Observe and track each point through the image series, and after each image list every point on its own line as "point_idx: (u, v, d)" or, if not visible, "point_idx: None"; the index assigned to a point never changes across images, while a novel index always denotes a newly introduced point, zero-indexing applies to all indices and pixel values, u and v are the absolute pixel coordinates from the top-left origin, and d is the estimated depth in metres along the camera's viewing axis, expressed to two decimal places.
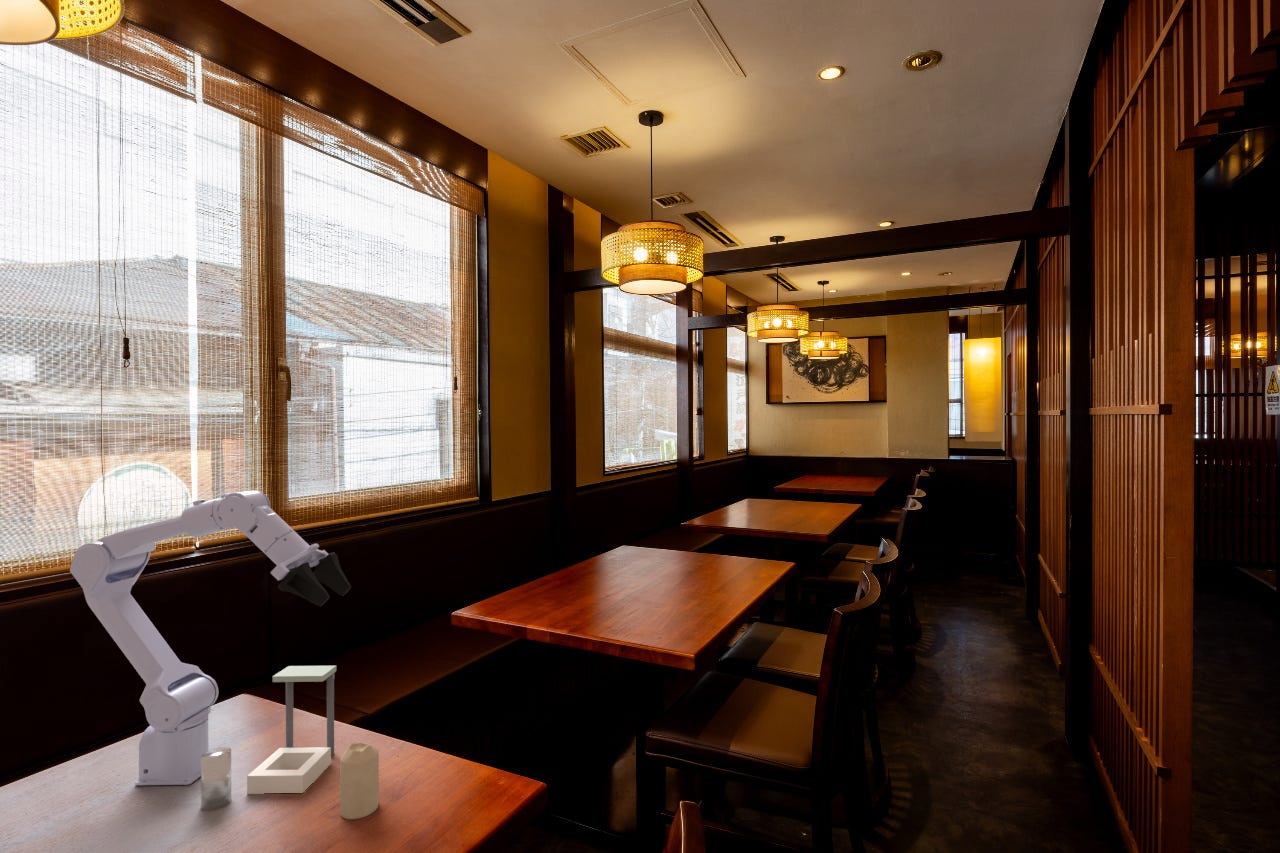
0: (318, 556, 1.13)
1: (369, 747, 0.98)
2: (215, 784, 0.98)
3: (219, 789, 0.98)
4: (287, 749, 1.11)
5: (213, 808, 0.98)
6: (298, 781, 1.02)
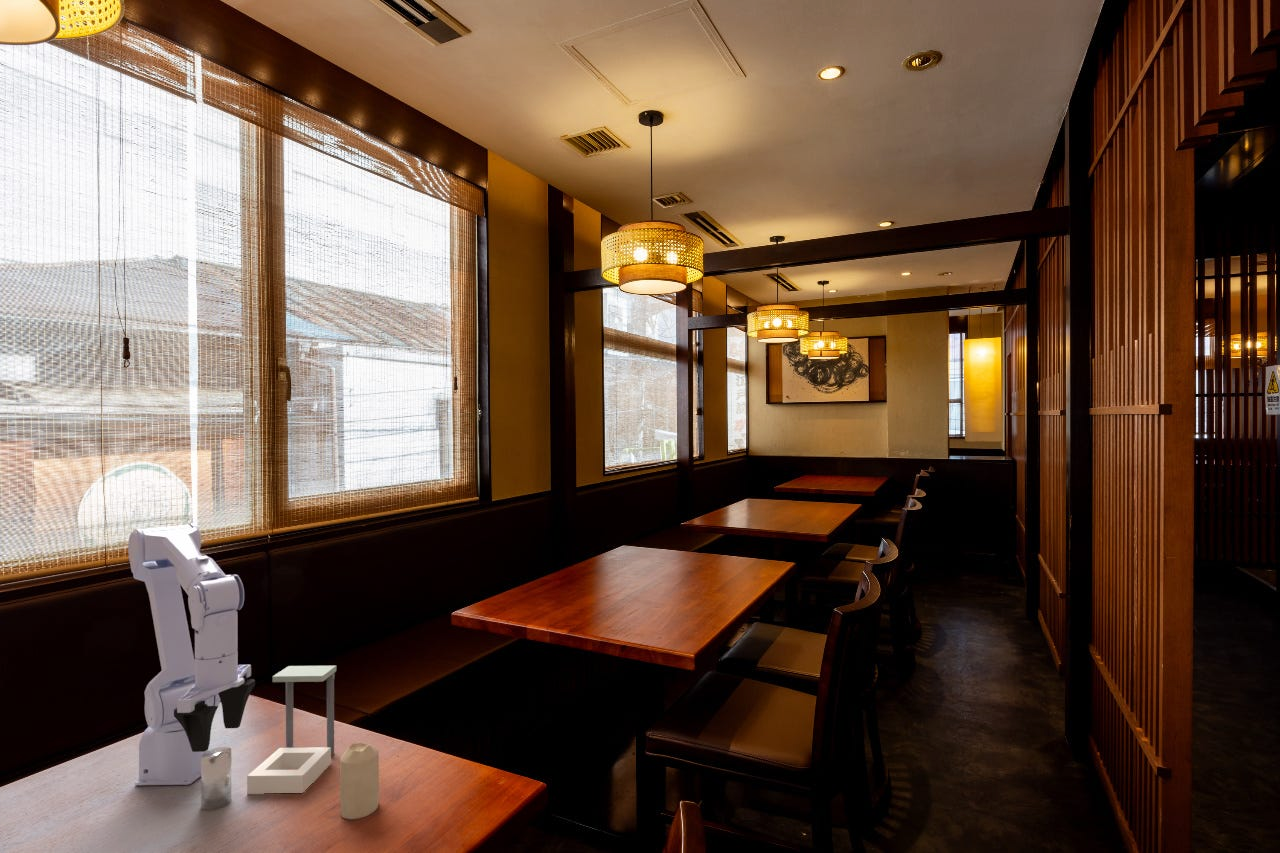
0: (239, 675, 1.04)
1: (369, 747, 0.98)
2: (215, 784, 0.98)
3: (219, 789, 0.98)
4: (287, 749, 1.11)
5: (213, 808, 0.98)
6: (298, 781, 1.02)
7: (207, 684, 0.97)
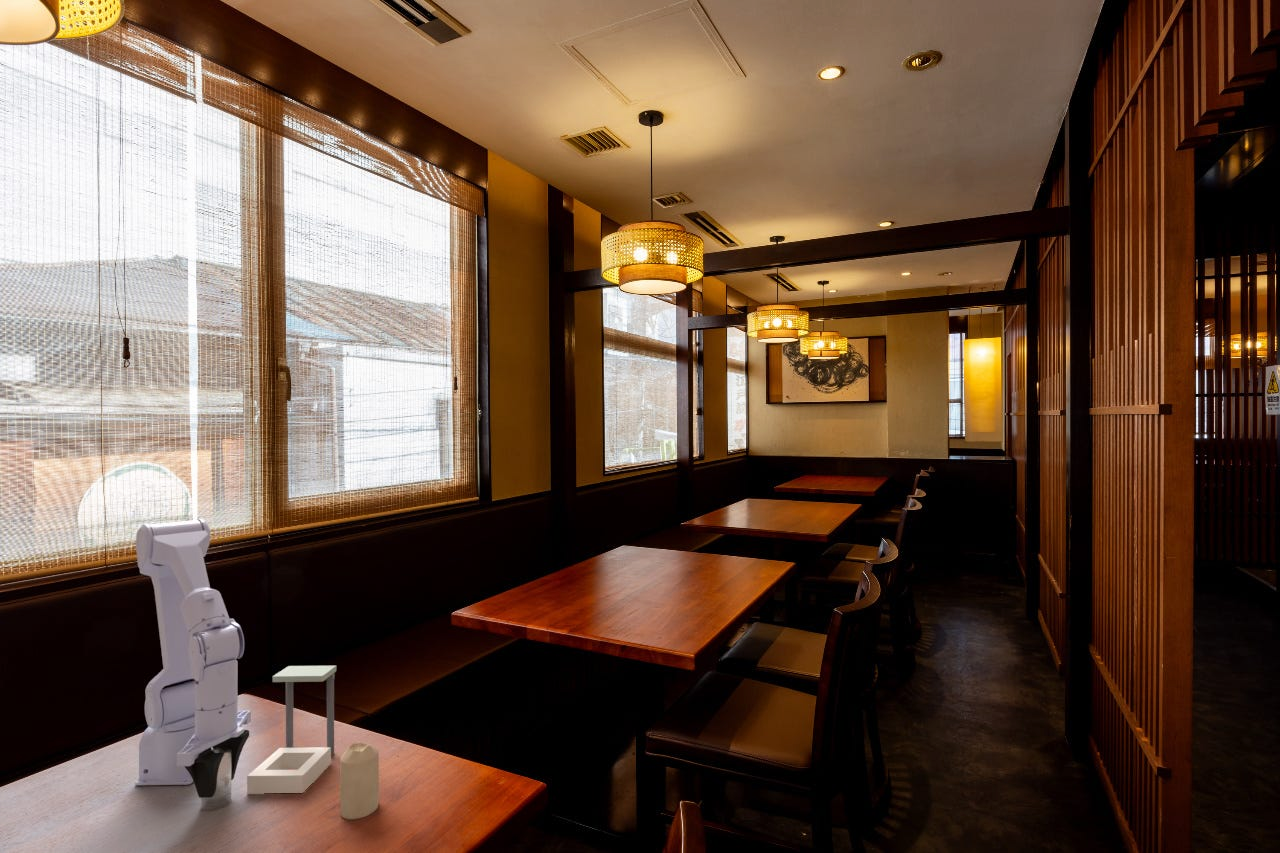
0: (238, 722, 1.04)
1: (369, 747, 0.98)
2: None
3: (219, 789, 0.98)
4: (287, 749, 1.11)
5: (213, 808, 0.98)
6: (298, 781, 1.02)
7: (207, 735, 0.97)
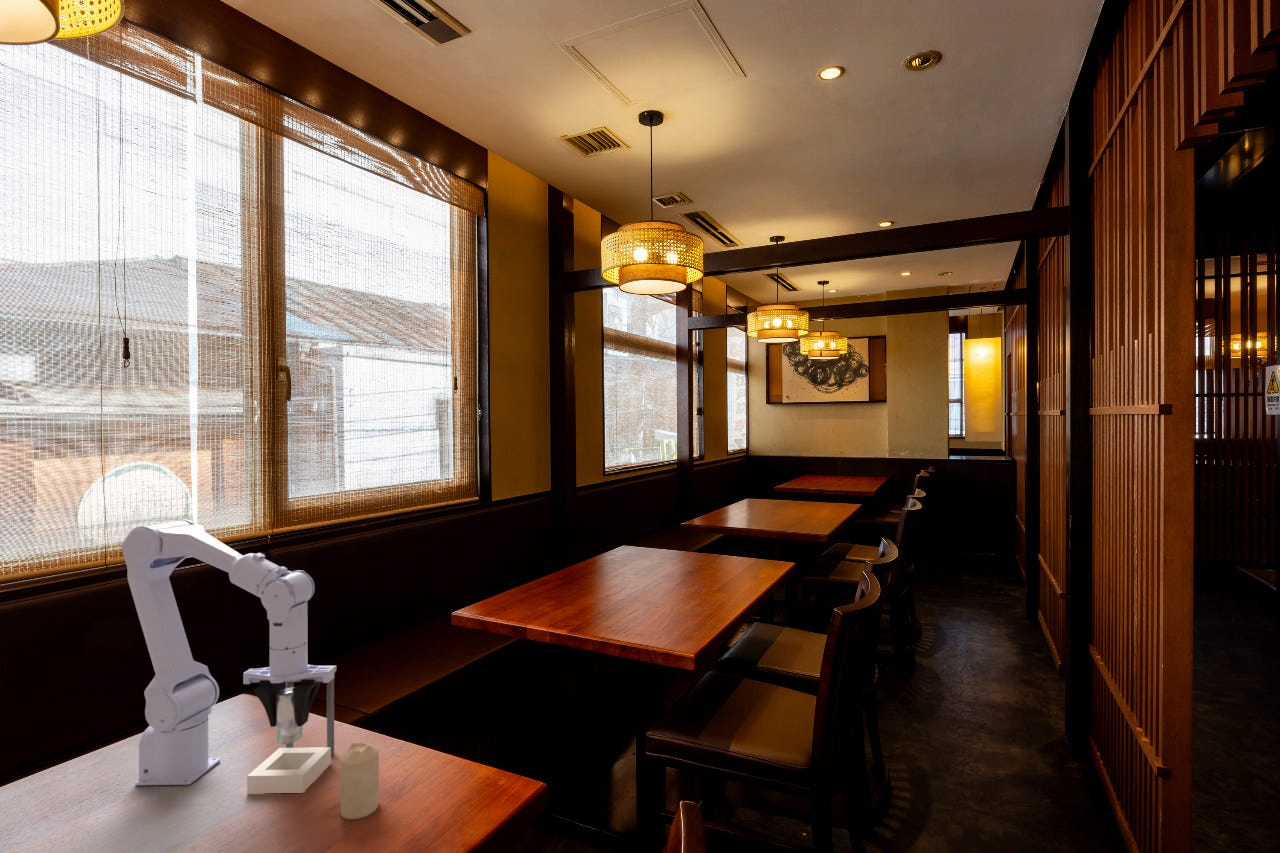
0: None
1: (369, 747, 0.98)
2: None
3: (276, 725, 1.05)
4: (287, 749, 1.11)
5: (276, 739, 1.06)
6: (298, 781, 1.02)
7: None
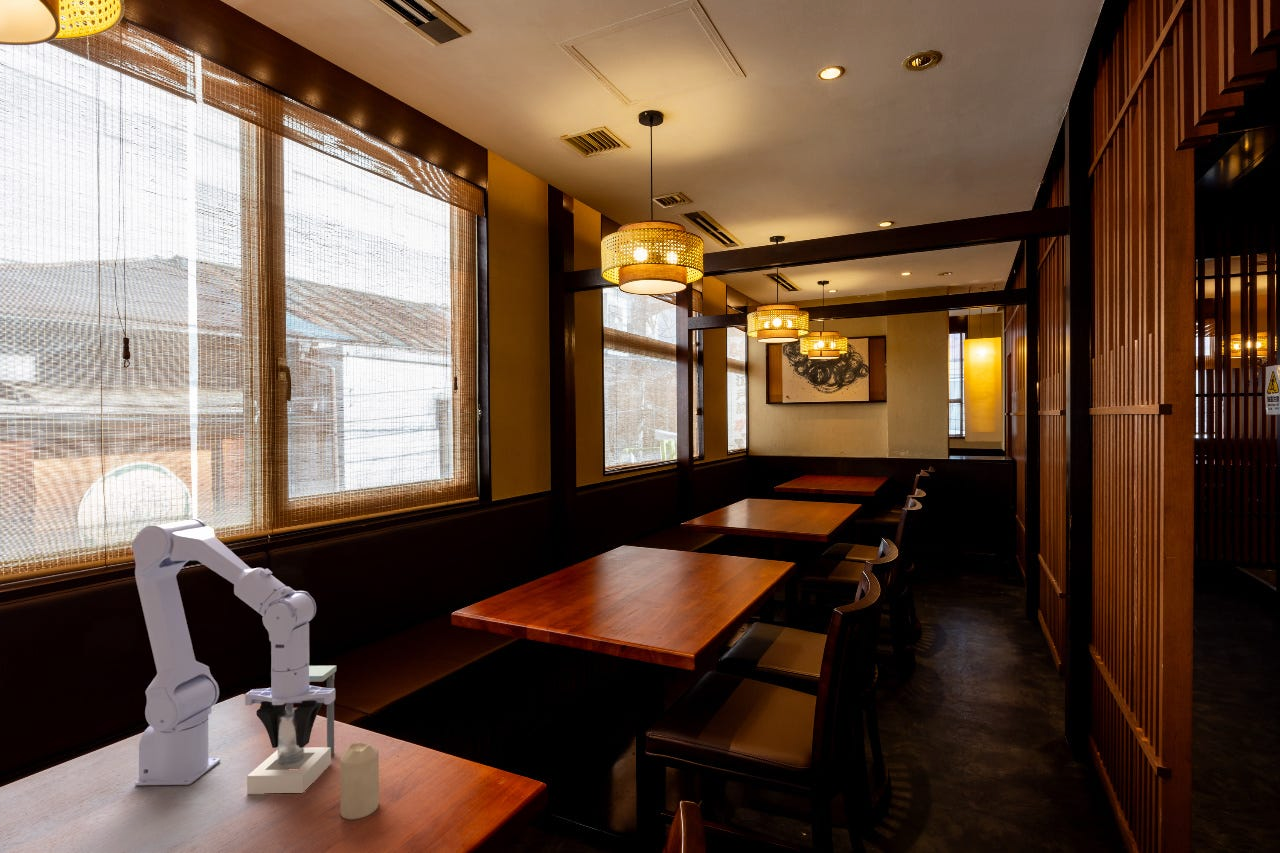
0: None
1: (369, 747, 0.98)
2: None
3: (278, 746, 1.05)
4: None
5: None
6: (298, 781, 1.02)
7: None
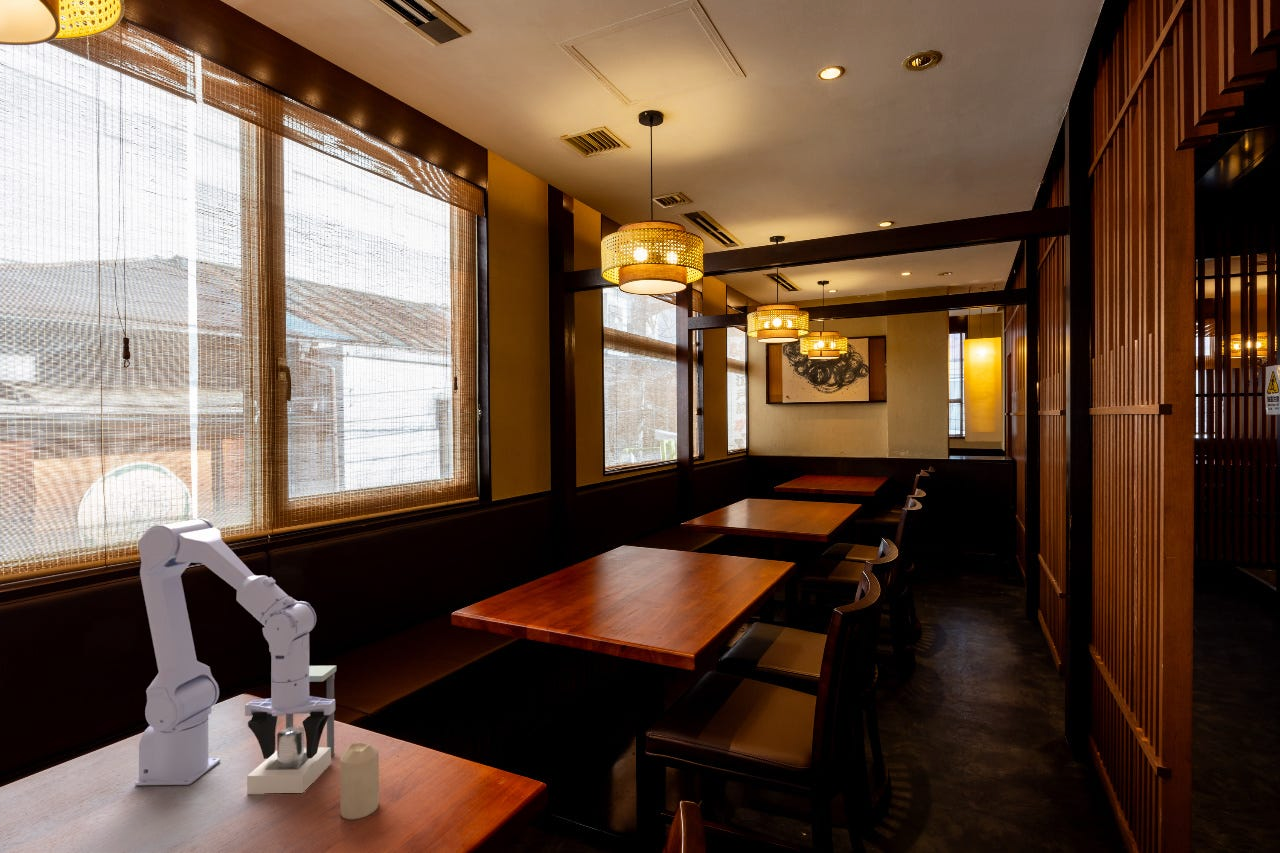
0: None
1: (369, 747, 0.98)
2: (277, 758, 1.06)
3: (278, 765, 1.05)
4: None
5: None
6: (298, 781, 1.02)
7: None
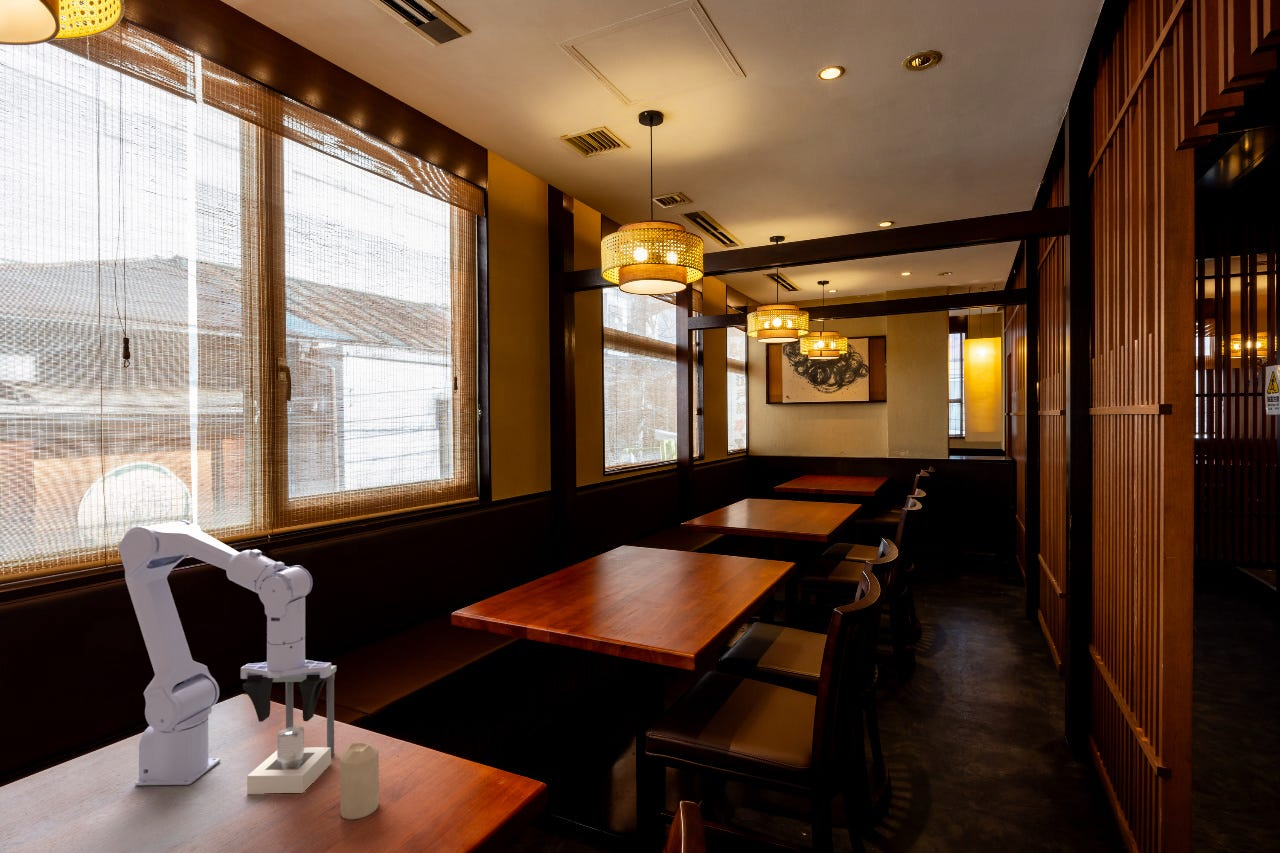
0: None
1: (369, 747, 0.98)
2: (277, 758, 1.06)
3: (278, 765, 1.05)
4: None
5: None
6: (298, 781, 1.02)
7: None
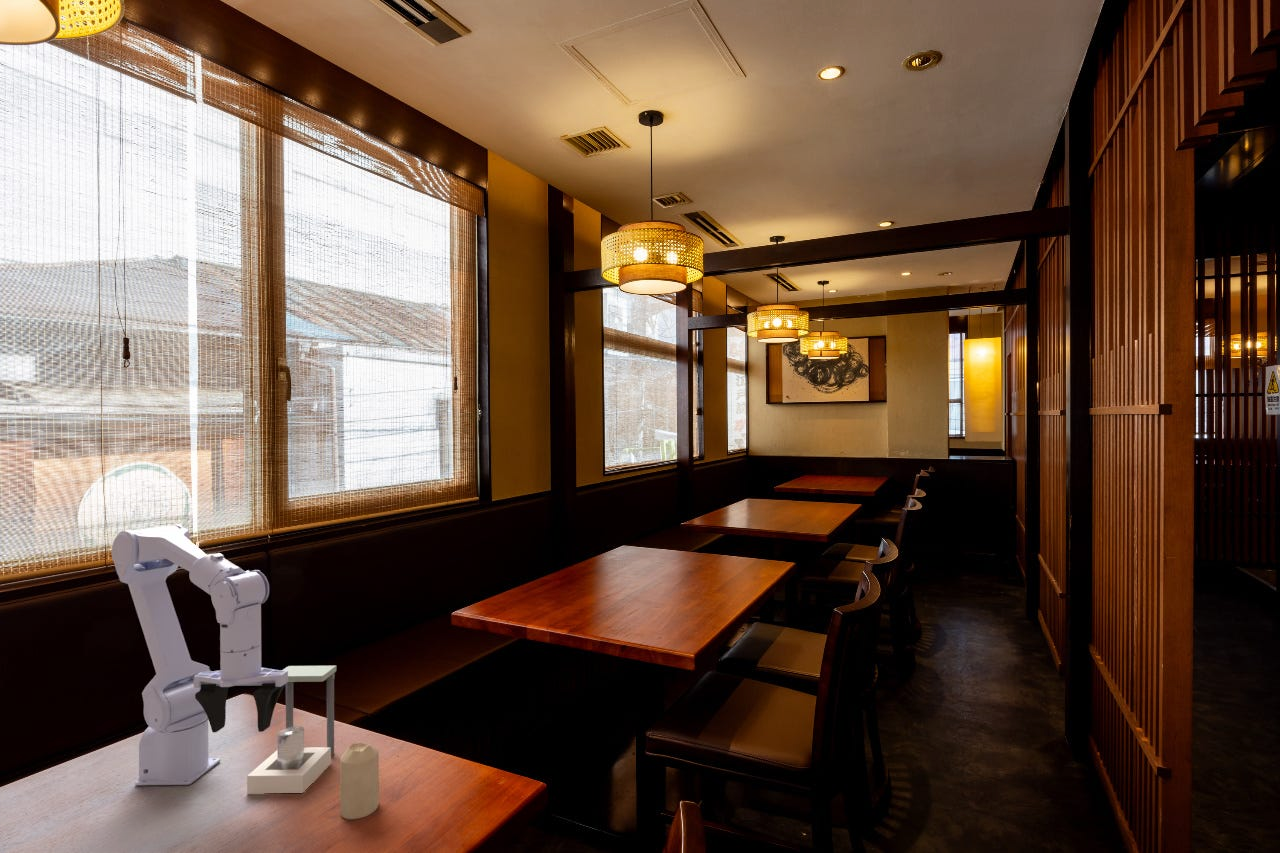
0: None
1: (369, 747, 0.98)
2: (277, 758, 1.06)
3: (278, 765, 1.05)
4: None
5: None
6: (298, 781, 1.02)
7: None
